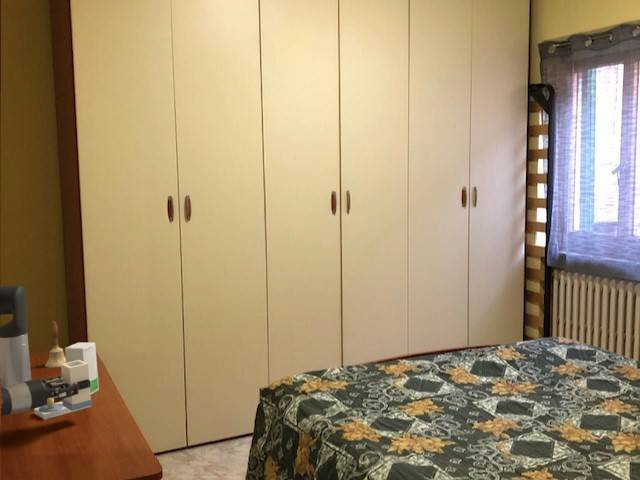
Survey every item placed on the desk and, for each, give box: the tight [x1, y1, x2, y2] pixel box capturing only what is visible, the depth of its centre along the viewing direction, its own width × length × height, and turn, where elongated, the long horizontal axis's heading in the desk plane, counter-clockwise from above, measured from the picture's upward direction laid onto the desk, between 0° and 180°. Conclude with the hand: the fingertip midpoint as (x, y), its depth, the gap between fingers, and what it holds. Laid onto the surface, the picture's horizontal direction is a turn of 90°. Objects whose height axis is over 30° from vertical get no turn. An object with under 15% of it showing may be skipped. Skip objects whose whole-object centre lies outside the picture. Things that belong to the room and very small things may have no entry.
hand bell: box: [44, 320, 66, 369], centre depth 257 cm, size 8×8×16 cm
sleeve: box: [60, 360, 94, 412], centre depth 199 cm, size 6×6×12 cm
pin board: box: [33, 398, 92, 420], centre depth 209 cm, size 14×7×5 cm, turn 134°
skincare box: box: [64, 342, 100, 396], centre depth 223 cm, size 8×7×16 cm
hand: (84, 380), depth 201 cm, fingers closed on sleeve, 5 cm apart
